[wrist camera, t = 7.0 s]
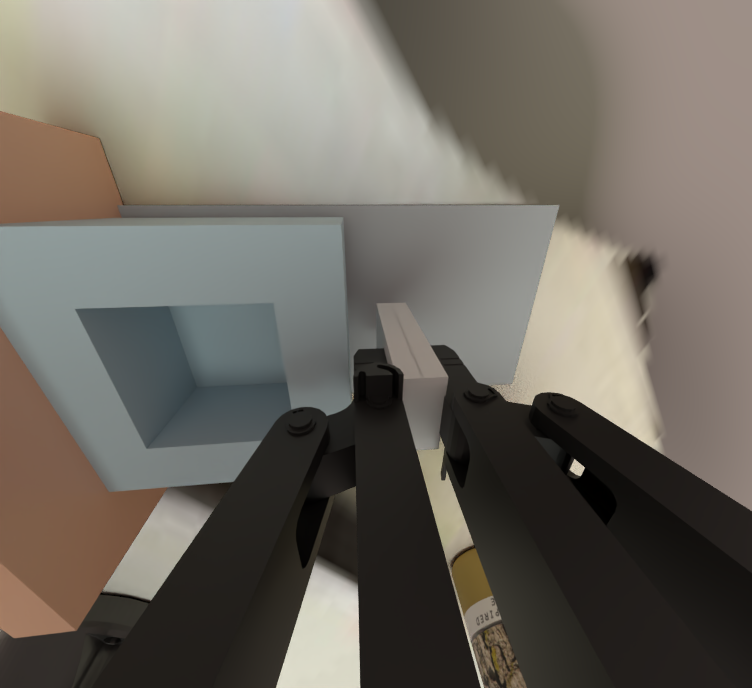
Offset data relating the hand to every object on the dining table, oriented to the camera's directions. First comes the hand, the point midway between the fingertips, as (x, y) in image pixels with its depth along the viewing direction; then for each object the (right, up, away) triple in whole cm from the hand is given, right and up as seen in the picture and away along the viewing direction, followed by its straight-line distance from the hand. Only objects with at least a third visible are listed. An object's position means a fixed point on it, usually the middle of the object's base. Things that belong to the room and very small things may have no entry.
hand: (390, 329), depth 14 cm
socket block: (-7, +1, +2) cm, 8 cm away
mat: (-3, +1, +2) cm, 4 cm away
